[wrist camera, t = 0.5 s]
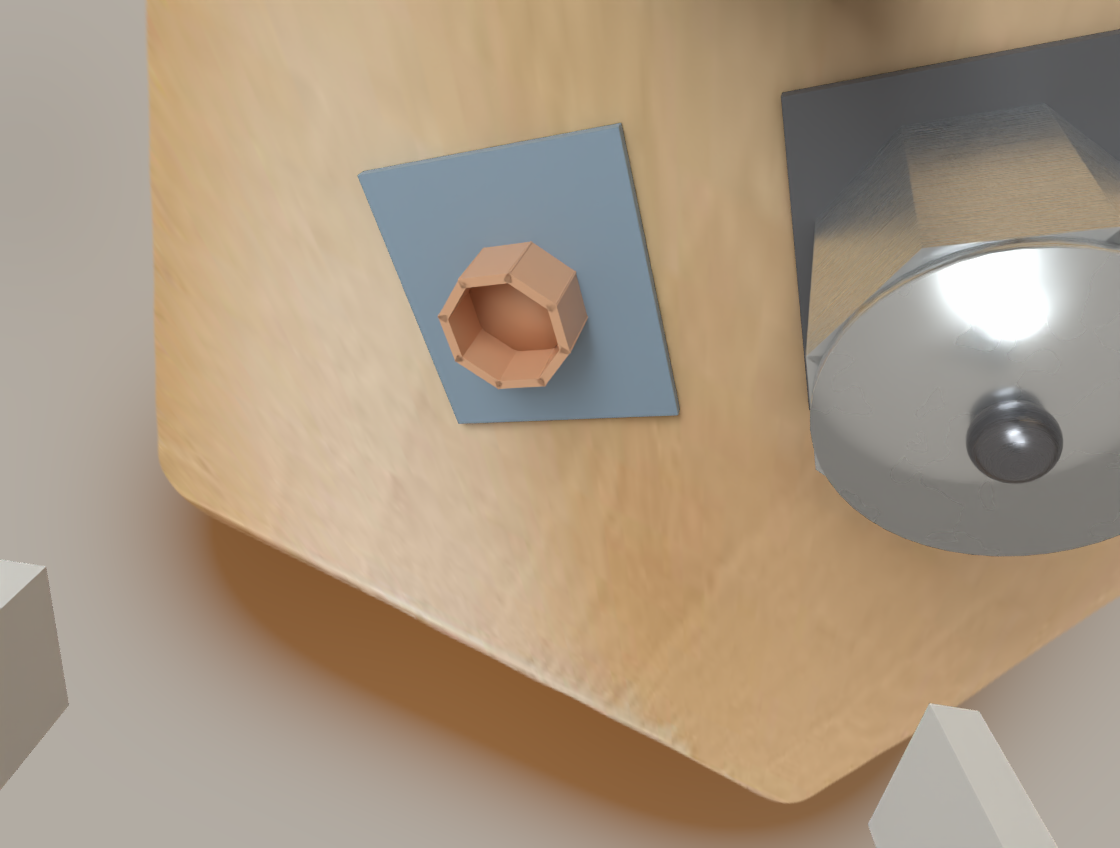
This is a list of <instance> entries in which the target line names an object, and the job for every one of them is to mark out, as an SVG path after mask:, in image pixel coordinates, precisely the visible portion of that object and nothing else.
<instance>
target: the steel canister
mask: <svg viewBox="0 0 1120 848" xmlns="http://www.w3.org/2000/svg"><path fill="white" fill-rule="evenodd" d="M806 364H807V375H808V387H809V398H810V431H811V437H812V442H813V448H814V455H815V466H816V470H817V471H819V472H820V473H822V474H823V475H825V476H826V477H827V479H828V480H829V482H830V483H831V484H832V485H833V487H834V488H835V489H836V491H837V492H838V493H839V494H840V495H841V496H842V497H843V498H844V499H845V500H846V501H847V502H848V503H849V504H850V505H851V506H852V507H853V508H854V509H855V510H857V511H858V512H859V513H861V514H862V515H863V516H865V517H866V518H867V519H869V520H870V521H872V522H874V523H875V524H877V525H879V526H881V527H882V528H884V529H886V530H888V531H890V532H892V533H894V534H896V535H899V536H901V537H903V538H905V539H908V540H911V541H914V542H917V543H920V544H923V545H926V546H930V547H934V548H938V549H942V550H946V551H951V552H958V553H965V554H971V555H985V556H1026V555H1037V554H1048V553H1053V552H1059V551H1065V550H1070V549H1075V548H1079V547H1083V546H1087V545H1090V544H1094V543H1098V542H1101V541H1104V540H1107V539H1110V538H1112V537H1115V536H1118V535H1120V162H1119V161H1118V160H1116V159H1115V158H1114V157H1113V156H1111V155H1110V154H1109V153H1108V152H1106V151H1105V150H1104V149H1102V148H1101V147H1100V146H1099V145H1097V144H1096V143H1095V142H1094V141H1092V140H1091V139H1090V138H1088V137H1087V136H1086V135H1085V134H1083V133H1082V132H1081V131H1079V130H1078V129H1077V128H1076V127H1074V126H1073V125H1072V124H1071V123H1069V122H1068V121H1067V120H1065V119H1064V118H1063V117H1062V116H1060V115H1059V114H1058V113H1057V112H1055V111H1054V110H1053V109H1051V108H1050V107H1049V106H1048V105H1046V104H1045V103H1041V104H1035V105H1029V106H1023V107H1017V108H1011V109H1005V110H999V111H992V112H986V113H980V114H974V115H968V116H962V117H956V118H949V119H943V120H937V121H931V122H925V123H919V124H913V125H907V126H901V127H900V128H899V130H898V131H897V132H896V133H895V134H894V135H893V136H892V137H891V138H890V139H889V140H888V142H887V143H886V144H885V145H884V146H883V147H882V148H881V149H880V150H879V151H878V152H877V154H876V155H875V156H874V157H873V158H872V159H871V160H870V161H869V162H868V163H867V164H866V166H865V167H864V168H863V169H862V170H861V171H860V172H859V173H858V174H857V175H856V176H855V178H854V179H853V180H852V181H851V182H850V183H849V184H848V185H847V186H846V187H845V188H844V190H843V191H842V192H841V193H840V194H839V195H838V196H837V197H836V198H835V199H834V200H833V202H832V203H831V204H830V205H829V206H828V207H827V208H826V209H825V210H824V211H823V213H822V214H821V215H820V216H819V217H818V218H817V219H816V220H815V234H814V248H813V262H812V275H811V289H810V303H809V317H808V331H807V344H806Z"/></svg>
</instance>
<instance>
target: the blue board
mask: <svg viewBox="0 0 1120 848" xmlns="http://www.w3.org/2000/svg"><path fill="white" fill-rule="evenodd" d="M358 178H359V181H360V183H361V185H362V188H363V190H364V193H365V195H366V198H367V200H368V203H369V205H370V208H371V210H372V212H373V215H374V217H375V220H376V222H377V225H378V227H379V230H380V232H381V235H382V237H383V239H384V242H385V244H386V247H387V249H388V252H389V254H390V257H391V259H392V262H393V264H394V266H395V269H396V271H397V274H398V276H399V279H400V281H401V284H402V286H403V289H404V291H405V293H406V296H407V298H408V301H409V303H410V306H411V308H412V311H413V313H414V316H415V318H416V320H417V323H418V325H419V328H420V330H421V333H422V335H423V338H424V340H425V343H426V345H427V347H428V350H429V352H430V355H431V357H432V360H433V362H434V365H435V367H436V370H437V372H438V374H439V377H440V379H441V382H442V384H443V387H444V389H445V392H446V394H447V397H448V399H449V401H450V404H451V406H452V409H453V411H454V414H455V416H456V419H457V421H458V424H464V423H489V422H515V421H541V420H567V419H592V418H618V417H644V416H669V415H678V414H679V410H680V407H679V402H678V397H677V392H676V387H675V382H674V378H673V373H672V368H671V363H670V358H669V353H668V348H667V343H666V338H665V334H664V329H663V324H662V319H661V314H660V309H659V304H658V299H657V295H656V290H655V285H654V280H653V275H652V270H651V265H650V260H649V255H648V251H647V246H646V241H645V236H644V231H643V226H642V221H641V216H640V211H639V207H638V202H637V197H636V192H635V187H634V182H633V177H632V172H631V168H630V163H629V158H628V153H627V148H626V143H625V138H624V133H623V128H622V124H621V123H618V124H613V125H607V126H602V127H597V128H591V129H586V130H581V131H575V132H570V133H565V134H559V135H554V136H549V137H543V138H538V139H533V140H527V141H522V142H517V143H512V144H506V145H501V146H496V147H490V148H485V149H480V150H474V151H469V152H464V153H458V154H453V155H448V156H442V157H437V158H432V159H426V160H421V161H416V162H410V163H405V164H400V165H394V166H389V167H384V168H378V169H373V170H368V171H363V172H362V173H360V174H359V175H358ZM530 241H532V242H533V243H534V244H536V245H537V246H539V247H540V248H542V249H543V250H545V251H546V252H548V253H549V254H551V255H552V256H554V257H555V258H556V259H558V260H559V261H561V262H562V263H564V264H565V265H567V266H568V267H570V268H571V269H573V270H574V271H576V275H577V279H578V283H579V286H580V290H581V294H582V298H583V302H584V305H585V309H586V313H587V316H588V319H587V321H586V323H585V325H584V327H583V329H582V331H581V333H580V335H579V337H578V339H577V341H576V343H575V345H574V347H573V349H572V351H571V353H570V354H569V355H568V356H567V357H566V359H565V360H564V361H563V363H562V364H561V365H560V367H559V368H558V369H557V371H556V372H555V373H554V375H553V376H552V377H551V379H550V380H549V381H548V383H547V385H546V386H545V387H544V386H541V387H523V388H506V389H497V388H496V387H494V386H493V385H491V384H490V383H488V382H487V381H485V380H484V379H482V378H481V377H479V376H477V375H476V374H474V373H473V372H471V371H470V370H468V369H467V368H465V367H463V366H462V365H460V364H459V363H457V362H455V361H454V360H455V359H454V357H453V354H452V352H451V349H450V346H449V344H448V341H447V339H446V336H445V334H444V331H443V328H442V326H441V323H440V321H439V318H438V315H439V313H440V312H441V310H442V309H443V307H444V305H445V303H446V301H447V299H448V298H449V296H450V294H451V292H452V290H453V289H454V287H455V285H456V283H457V281H458V278H459V277H460V276H461V275H462V273H463V272H464V271H465V270H466V268H467V267H468V266H469V265H470V264H471V262H472V261H473V260H474V259H475V257H476V256H477V255H478V254H479V252H480V251H481V250H482V249H483V248H484V247H485V248H486V247H494V246H501V245H509V244H516V243H524V242H530Z"/></svg>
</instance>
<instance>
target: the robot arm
mask: <svg viewBox="0 0 1120 848" xmlns="http://www.w3.org/2000/svg"><path fill="white" fill-rule="evenodd" d="M68 705H69V703H68V697H67V691H66V685H65V679H64V673H63V666H62V660H61V654H60V648H59V642H58V636H57V630H56V624H55V618H54V612H53V606H52V600H51V594H50V588H49V582H48V575H47V569H46V566H39V565H33V564H26V563H20V562H14V561H7V560H1V559H0V790H1V789H2V787H3V786H4V785H5V784H6V782H7V781H8V780H9V779H10V778H11V776H12V775H13V774H14V773H15V771H16V770H17V769H18V768H19V766H20V765H21V764H22V763H23V761H24V760H25V759H26V758H27V756H28V755H29V754H30V753H31V751H32V750H33V749H34V748H35V747H36V745H37V744H38V743H39V742H40V740H41V739H42V738H43V737H44V735H45V734H46V733H47V731H48V730H49V729H50V728H51V727H52V725H53V724H54V723H55V722H56V720H57V719H58V718H59V717H60V715H61V714H62V713H63V712H64V710H65V709H66V708H67V707H68ZM868 826H869V829H870V832H871V835H872V838H873V840H874V843H875V846H876V848H1058V847H1057V845H1056V843H1055V841H1054V840H1053V838H1052V836H1051V834H1050V833H1049V831H1048V829H1047V828H1046V826H1045V824H1044V822H1043V821H1042V819H1041V817H1040V816H1039V814H1038V812H1037V810H1036V809H1035V807H1034V805H1033V803H1032V802H1031V800H1030V798H1029V796H1028V795H1027V793H1026V791H1025V790H1024V788H1023V786H1022V784H1021V783H1020V781H1019V779H1018V778H1017V776H1016V774H1015V772H1014V771H1013V769H1012V767H1011V765H1010V764H1009V762H1008V760H1007V758H1006V757H1005V755H1004V753H1003V752H1002V750H1001V748H1000V746H999V745H998V743H997V741H996V740H995V738H994V736H993V734H992V733H991V731H990V729H989V727H988V726H987V724H986V722H985V720H984V719H983V717H982V715H981V714H980V712H979V711H976V710H970V709H963V708H957V707H950V706H944V705H937V704H931V703H929V705H928V707H927V709H926V711H925V713H924V715H923V717H922V719H921V721H920V723H919V725H918V727H917V729H916V731H915V733H914V735H913V737H912V739H911V741H910V742H909V745H908V746H907V748H906V750H905V752H904V754H903V757H902V759H901V761H900V762H899V764H898V766H897V768H896V770H895V772H894V774H893V776H892V778H891V780H890V782H889V784H888V786H887V788H886V790H885V792H884V794H883V796H882V798H881V800H880V802H879V804H878V806H877V808H876V809H875V812H874V813H873V816H872V818H871V819H870V821H869V823H868Z"/></svg>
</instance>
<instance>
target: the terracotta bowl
mask: <svg viewBox="0 0 1120 848" xmlns="http://www.w3.org/2000/svg"><path fill="white" fill-rule="evenodd" d="M438 318H439V321H440V323H441V326H442V328H443V331H444V334H445V336H446V339H447V341H448V344H449V346H450V349H451V352H452V354H453V357H454V359H455V360H454V361H455V362H457V363H459V364H460V365H462V366H463V367H465V368H467V369H468V370H470V371H471V372H473V373H474V374H476V375H477V376H479V377H481V378H482V379H484V380H485V381H487V382H488V383H490V384H491V385H493V386H494V387H496V388H497V389H506V388H523V387H541V386H544V387H545V386H546V385H547V383H548V381H549V380H550V379H551V377H552V376H553V375H554V373H555V372H556V371H557V369H558V368H559V367H560V365H561V364H562V363H563V361H564V360H565V359H566V357H567V356H568V355H569V354H570V353H571V351H572V349H573V347H574V345H575V343H576V341H577V339H578V337H579V335H580V333H581V331H582V329H583V327H584V325H585V323H586V321H587V319H588V316H587V313H586V309H585V305H584V302H583V298H582V294H581V290H580V286H579V283H578V279H577V275H576V271H574V270H573V269H571V268H570V267H568V266H567V265H565V264H564V263H562V262H561V261H559V260H558V259H556V258H555V257H554V256H552V255H551V254H549V253H548V252H546V251H545V250H543V249H542V248H540V247H539V246H537V245H536V244H534V243H533V242H532V241H530V242H524V243H516V244H509V245H501V246H494V247H486V248H485V247H484V248H483V249H482V250H481V251H480V252H479V254H478V255H477V256H476V257H475V259H474V260H473V261H472V262H471V264H470V265H469V266H468V267H467V268H466V270H465V271H464V272H463V273H462V275H461V276H460V277H459V278H458V281H457V283H456V285H455V287H454V289H453V290H452V292H451V294H450V296H449V298H448V299H447V301H446V303H445V305H444V307H443V309H442V310H441V312H440V313H439V315H438Z"/></svg>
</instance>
